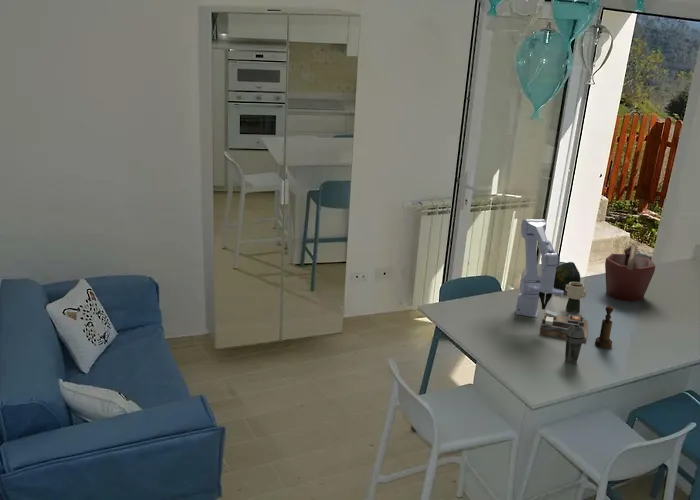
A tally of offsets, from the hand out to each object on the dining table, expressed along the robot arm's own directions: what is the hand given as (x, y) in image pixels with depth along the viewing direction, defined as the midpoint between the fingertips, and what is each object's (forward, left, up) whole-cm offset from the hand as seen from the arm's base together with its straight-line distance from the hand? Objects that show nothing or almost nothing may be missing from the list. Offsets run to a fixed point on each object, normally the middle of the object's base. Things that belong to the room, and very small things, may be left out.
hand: (543, 308), depth 301 cm
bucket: (+36, +59, -10) cm, 70 cm away
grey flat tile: (+3, +10, -6) cm, 12 cm away
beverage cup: (+14, -27, -10) cm, 32 cm away
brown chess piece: (+26, -6, -10) cm, 29 cm away
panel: (+10, +4, -9) cm, 14 cm away
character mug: (+12, +28, -10) cm, 32 cm away
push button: (+14, +10, -7) cm, 19 cm away
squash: (+6, +56, -10) cm, 57 cm away
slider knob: (+3, -2, -7) cm, 8 cm away
